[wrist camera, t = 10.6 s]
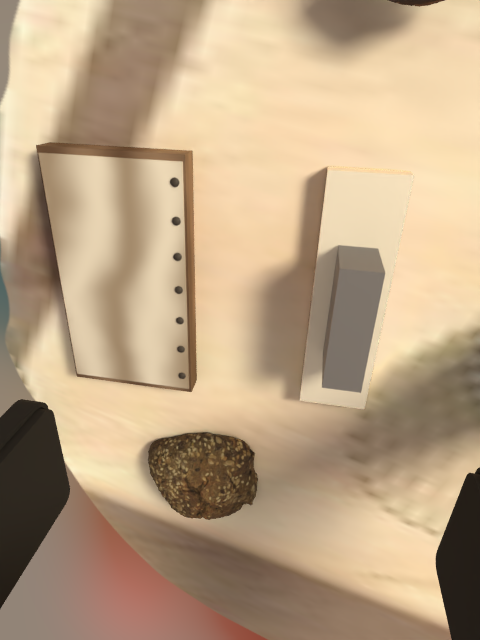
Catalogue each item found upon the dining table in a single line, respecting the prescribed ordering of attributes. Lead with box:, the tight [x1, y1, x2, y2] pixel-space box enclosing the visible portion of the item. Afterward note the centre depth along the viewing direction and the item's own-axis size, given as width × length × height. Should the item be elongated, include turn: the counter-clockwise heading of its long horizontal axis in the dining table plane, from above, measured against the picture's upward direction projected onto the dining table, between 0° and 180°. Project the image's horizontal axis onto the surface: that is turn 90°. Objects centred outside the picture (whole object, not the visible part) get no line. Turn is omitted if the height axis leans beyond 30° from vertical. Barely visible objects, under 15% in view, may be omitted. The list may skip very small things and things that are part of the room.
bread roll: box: [148, 433, 258, 520], centre depth 49 cm, size 13×12×5 cm
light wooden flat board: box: [36, 143, 197, 392], centre depth 40 cm, size 12×22×2 cm, turn 178°
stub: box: [300, 166, 414, 409], centre depth 35 cm, size 6×21×7 cm, turn 178°
